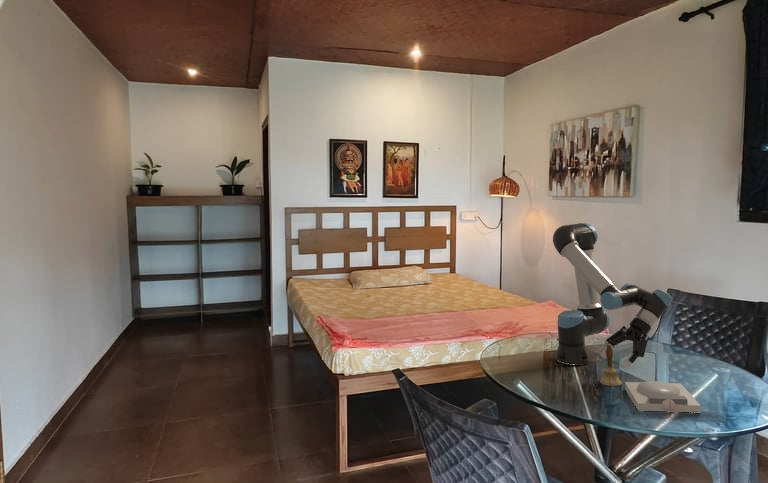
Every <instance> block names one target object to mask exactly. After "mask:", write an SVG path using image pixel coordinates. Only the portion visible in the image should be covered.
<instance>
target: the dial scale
mask: <svg viewBox="0 0 768 483" xmlns="http://www.w3.org/2000/svg"><path fill="white" fill-rule="evenodd" d="M624 389H625V391H626V394H627V396H629V399H630V400H631V402H632V404H633V403H634V404H633V405H634V407H635V406H636V407H635V408H637V409H638V410H650V411H651V410H652V411H670V412H689V413H688V414H695V413H702V412H701V411H702V410H701V408H702V407H701V406H702V405H701V404H700V403H699V402H698V401H697V400H696V398H694V397H693V395H692V394H691V393H690V392H689V391H688V389H687V388H686V387H684V385H683V384H682V383H681V382H680V383H677V382H675V383H673V382H663V381H656V380H655V381H654V380H651V381H650V380H649V381H642V382H640V381H639V382H637V381H636V382H634V381H633V382H632V381H625V382H624ZM637 409H636V410H637ZM638 410H637V411H638ZM690 412H691V413H690ZM693 412H694V413H693Z"/></svg>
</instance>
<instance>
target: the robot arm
mask: <svg viewBox="0 0 768 483" xmlns="http://www.w3.org/2000/svg"><path fill="white" fill-rule="evenodd" d="M598 238H599V237H598V232H597V230H596V229H595V227H594V226H593V225H592V224H590V223H586V222H584V223H582V222H581V223H579V222H578V223H573V224H566V225H561V226H559V227H558V228H556V229H555V231H554V233H553V236H552V243H553V247H554V249H555V250H556V252H557V253H558V254H559V255H560V256H561V257H563V258H566V259H567V260H568V261H569V263H570V264H571V265H572V266H573V267H574V274H575V282H576V289H577V297H578V302H579V304H578V305H577V306H576V309H571V310H564V311H562V312H560V313H559V314H558V315H557V323H556V324H557V334H558V335H557V336H558V338H557V339H558V346H557V349H556V352H555V356H554V357H555V360H556V359H557V360H559V361H561V362H564V363H569V364H577V365H581V364H586V365H587V363H588V364H590V362H591V361H590V360H591V359H590V355H589V352H588V350H587V348H586V342H585V339H586V337H589V336H592V335H598V334H600V333H602V332H605V331H607V329H608V328H609V326H610V322H611V320H610V316H609V313H608V312H607V311H606V310H610V311H612V310H618V309H621V308H625V307H629V306H630V307H631V306H634V305H636V306H638V307H640V309H639V310H638V312H637V313H636V315H635V317H633V319H632V320H631V321H630V323H629V327H627V326H625V325H623V326H622V327H621V328H620V329H619V330H618V331H616V332H614V333H613V334H612V335H611V336H609V337H607V338H606V339H605V341H606V342H607V344H606V345H605V347H604V348H603V350H602V351H601V353H600V355H599V357H602V359H603V360H606V359H607V356H606V349H607V345H611V348H612V351H614V348H615V346H616V345H619V344H621V343H623V342H625V341H631V342H632V351H631V352H630V353H629V355H628V356H627V357H626V358H625V359H624V361H623V362H622V364H621V365H620V366H621V367H623V368H624V370H626V371H628V370H629V368H630V366H632V364H633V363H634V362H636V361H637V359H638V358H644V357H645V354H646V351H647V344H648V341H649V340H650V338H651V337H650V336H649V333H650V331H651V330H652V328H653V327H654V326H655V325H656V323H657V322H658V321H659V319H660V318H661V316H662V315H663V314H664V312H665V311H667V309H668V308H669V306H670V305H671V303H672V301H673V297H672V296H671V294H669V293H668V292H666V291H665V290H663V289H659V288H657V289H655V290H654V291H649V290H647V289H644V288H643V287H640V286H638V285H636V284H632V283H625V284H624V285H622V286H621V288H620V289H619V288H618V287H617V286H616V284H614V282H612V281H611V279H610V278H609V277H608V276H607V275H606V274H605V273H604V272H603V270H601V268H599V266H597V265H596V263H595V262H594V261H593V256H592V253H593V252H594V251H595V246H594V245H596V243H597V241H598ZM598 296H600V298H599V297H598ZM599 300H600V302H599Z"/></svg>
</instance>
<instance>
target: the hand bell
mask: <svg viewBox="0 0 768 483" xmlns="http://www.w3.org/2000/svg"><path fill="white" fill-rule="evenodd" d="M606 346H607V349H606V356H607V358H606V359H607V368H605V369H604V373H603V377H601V378H600V380H599V382H600V384H602V385H604V386H608V387H618V386H619V387H620V386H622V384H623V383H622V380H620V378H619V376H618V372H617V370H616V369H614V368H613V357H614V350H612V348H611V345H607V344H606Z"/></svg>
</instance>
